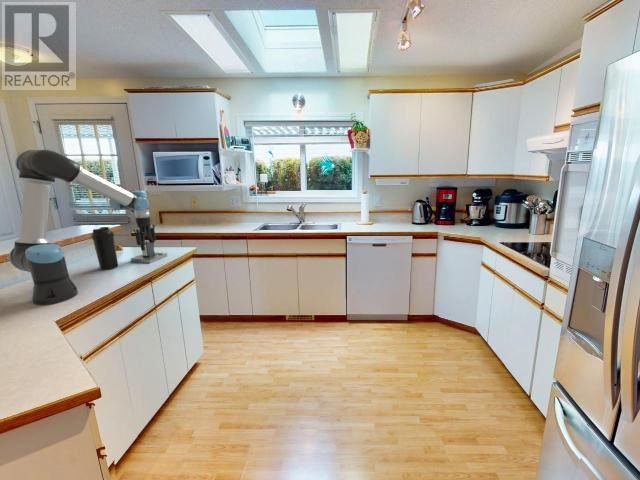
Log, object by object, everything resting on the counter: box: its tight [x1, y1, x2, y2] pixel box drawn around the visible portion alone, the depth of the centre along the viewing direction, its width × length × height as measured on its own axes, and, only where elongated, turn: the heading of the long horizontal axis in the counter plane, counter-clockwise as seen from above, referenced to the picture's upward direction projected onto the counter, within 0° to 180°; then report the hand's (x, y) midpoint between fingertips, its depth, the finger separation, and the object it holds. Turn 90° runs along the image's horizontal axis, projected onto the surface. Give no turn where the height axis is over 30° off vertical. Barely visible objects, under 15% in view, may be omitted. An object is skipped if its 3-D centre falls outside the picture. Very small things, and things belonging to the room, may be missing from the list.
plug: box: [141, 240, 155, 258], centre depth 183 cm, size 4×4×10 cm
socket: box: [130, 251, 168, 264], centre depth 184 cm, size 14×14×3 cm
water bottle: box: [91, 226, 119, 271], centre depth 167 cm, size 10×10×23 cm
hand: (148, 254), depth 183 cm, fingers closed on plug, 4 cm apart
